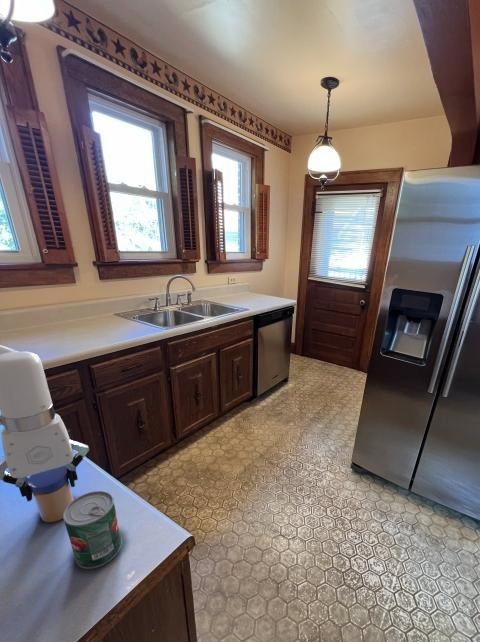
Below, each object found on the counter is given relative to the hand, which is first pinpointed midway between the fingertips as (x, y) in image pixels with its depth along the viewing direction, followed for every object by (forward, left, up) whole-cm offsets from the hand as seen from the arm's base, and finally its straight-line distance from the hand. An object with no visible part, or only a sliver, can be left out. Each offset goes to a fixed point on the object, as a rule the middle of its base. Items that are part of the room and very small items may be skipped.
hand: (52, 489), depth 66 cm
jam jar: (0, 0, -6) cm, 6 cm away
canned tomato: (+6, -15, -6) cm, 17 cm away
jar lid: (0, 0, +3) cm, 3 cm away
